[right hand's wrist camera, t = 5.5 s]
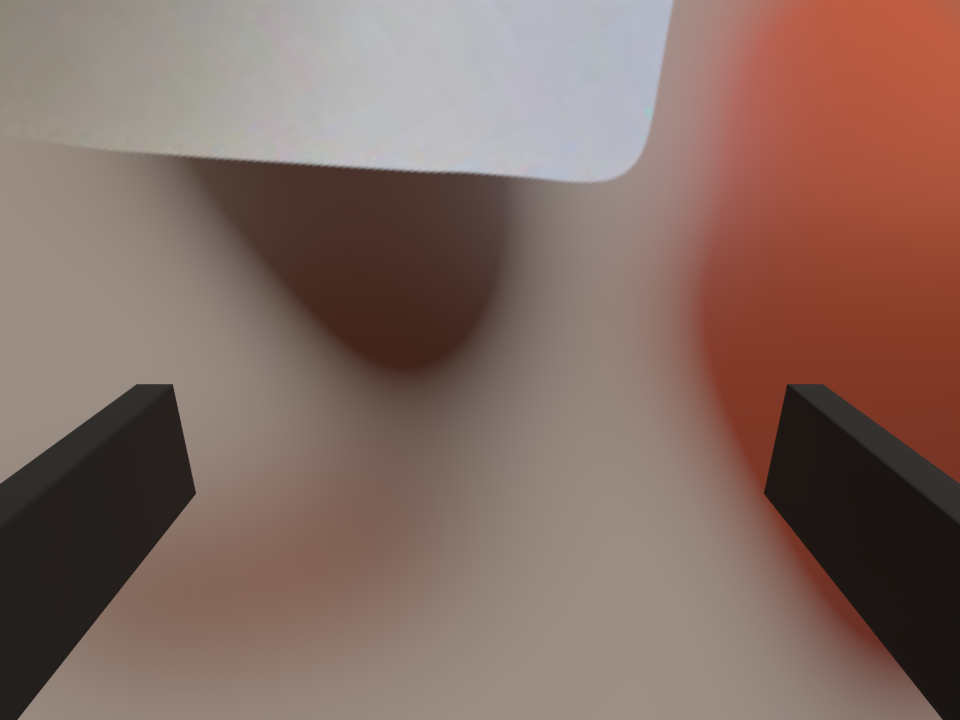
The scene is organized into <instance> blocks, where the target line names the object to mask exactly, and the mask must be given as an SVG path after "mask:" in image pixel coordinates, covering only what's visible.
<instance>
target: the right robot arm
mask: <svg viewBox="0 0 960 720" xmlns="http://www.w3.org/2000/svg"><path fill="white" fill-rule="evenodd" d="M195 494H196V491H195V487H194V482H193V477H192V473H191V468H190V463H189V458H188V454H187V449H186V444H185V440H184V435H183V430H182V426H181V421H180V416H179V412H178V407H177V402H176V397H175V393H174V388H173V385H172V384H137V385H135V386H134V387H133V388H131V389H130V390H128V391H127V392H126V393H124V394H123V395H122V396H120V397H119V398H117V399H116V400H115V401H113V402H112V403H111V404H109V405H108V406H106V407H105V408H104V409H102V410H101V411H100V412H98V413H97V414H95V415H94V416H93V417H91V418H90V419H89V420H87V421H86V422H85V423H83V424H82V425H80V426H79V427H78V428H76V429H75V430H74V431H72V432H71V433H69V434H68V435H67V436H65V437H64V438H63V439H61V440H60V441H58V442H57V443H56V444H54V445H53V446H52V447H50V448H49V449H47V450H46V451H45V452H43V453H42V454H41V455H39V456H38V457H37V458H35V459H34V460H32V461H31V462H30V463H28V464H27V465H26V466H24V467H23V468H21V469H20V470H19V471H17V472H16V473H15V474H13V475H12V476H10V477H9V478H8V479H6V480H5V481H4V482H2V483H1V484H0V720H17V719H18V718H19V717H20V716H21V714H22V713H23V712H24V710H25V709H26V708H27V707H28V705H29V704H30V703H31V702H32V700H33V699H34V698H35V697H36V695H37V694H38V693H39V692H40V690H41V689H42V688H43V686H44V685H45V684H46V683H47V681H48V680H49V679H50V678H51V676H52V675H53V674H54V673H55V671H56V670H57V669H58V668H59V666H60V665H61V664H62V662H63V661H64V660H65V659H66V657H67V656H68V655H69V654H70V652H71V651H72V650H73V649H74V647H75V646H76V645H77V643H78V642H79V641H80V640H81V638H82V637H83V636H84V635H85V633H86V632H87V631H88V630H89V628H90V627H91V626H92V624H93V623H94V622H95V621H96V619H97V618H98V617H99V616H100V614H101V613H102V612H103V611H104V609H105V608H106V607H107V606H108V604H109V603H110V602H111V600H112V599H113V598H114V597H115V595H116V594H117V593H118V592H119V590H120V589H121V588H122V587H123V585H124V584H125V583H126V581H127V580H128V579H129V578H130V576H131V575H132V574H133V573H134V571H135V570H136V569H137V568H138V566H139V565H140V564H141V563H142V561H143V560H144V559H145V557H146V556H147V555H148V554H149V552H150V551H151V550H152V549H153V547H154V546H155V545H156V544H157V542H158V541H159V540H160V538H161V537H162V536H163V535H164V533H165V532H166V531H167V530H168V528H169V527H170V526H171V525H172V523H173V522H174V521H175V519H176V518H177V517H178V516H179V514H180V513H181V512H182V511H183V509H184V508H185V507H186V506H187V504H188V503H189V502H190V501H191V499H192V498H193V497H194V495H195ZM764 494H765V495H766V497H767V498H768V499H769V501H770V502H771V503H772V504H773V505H774V507H775V508H776V509H777V511H778V512H779V513H780V514H781V516H782V517H783V518H784V519H785V521H786V522H787V523H788V525H789V526H790V527H791V528H792V530H793V531H794V532H795V533H796V535H797V536H798V537H799V538H800V540H801V541H802V542H803V543H804V545H805V546H806V547H807V549H808V550H809V551H810V552H811V554H812V555H813V556H814V557H815V559H816V560H817V561H818V563H819V564H820V565H821V566H822V568H823V569H824V570H825V571H826V573H827V574H828V575H829V576H830V578H831V579H832V580H833V581H834V583H835V584H836V585H837V587H838V588H839V589H840V590H841V592H842V593H843V594H844V595H845V597H846V598H847V599H848V600H849V602H850V603H851V604H852V606H853V607H854V608H855V609H856V611H857V612H858V613H859V614H860V616H861V617H862V618H863V619H864V621H865V622H866V623H867V625H868V626H869V627H870V628H871V630H872V631H873V632H874V633H875V635H876V636H877V637H878V638H879V640H880V641H881V642H882V643H883V645H884V646H885V647H886V649H887V650H888V651H889V652H890V654H891V655H892V656H893V657H894V659H895V660H896V661H897V662H898V664H899V665H900V666H901V668H902V669H903V670H904V671H905V673H906V674H907V675H908V676H909V678H910V679H911V680H912V681H913V683H914V684H915V685H916V687H917V688H918V689H919V690H920V692H921V693H922V694H923V695H924V697H925V698H926V699H927V700H928V702H929V703H930V704H931V706H932V707H933V708H934V709H935V710H936V712H937V713H938V714H939V716H940V717H941V718H942V719H943V720H960V484H959V483H958V482H956V481H955V480H954V479H952V478H951V477H950V476H948V475H947V474H945V473H944V472H943V471H941V470H940V469H939V468H937V467H936V466H934V465H933V464H932V463H930V462H929V461H928V460H926V459H925V458H923V457H922V456H921V455H919V454H918V453H917V452H915V451H914V450H913V449H911V448H910V447H908V446H907V445H906V444H904V443H903V442H902V441H900V440H899V439H897V438H896V437H895V436H893V435H892V434H891V433H889V432H888V431H886V430H885V429H884V428H882V427H881V426H880V425H878V424H877V423H875V422H874V421H873V420H871V419H870V418H869V417H867V416H866V415H864V414H863V413H862V412H860V411H859V410H858V409H856V408H855V407H853V406H852V405H851V404H849V403H848V402H847V401H845V400H844V399H843V398H841V397H840V396H838V395H837V394H836V393H834V392H833V391H832V390H830V389H829V388H827V387H826V386H825V385H823V384H788V385H787V388H786V393H785V397H784V402H783V407H782V412H781V416H780V421H779V426H778V430H777V435H776V440H775V444H774V449H773V454H772V458H771V463H770V468H769V473H768V477H767V482H766V487H765V491H764Z"/></svg>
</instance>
